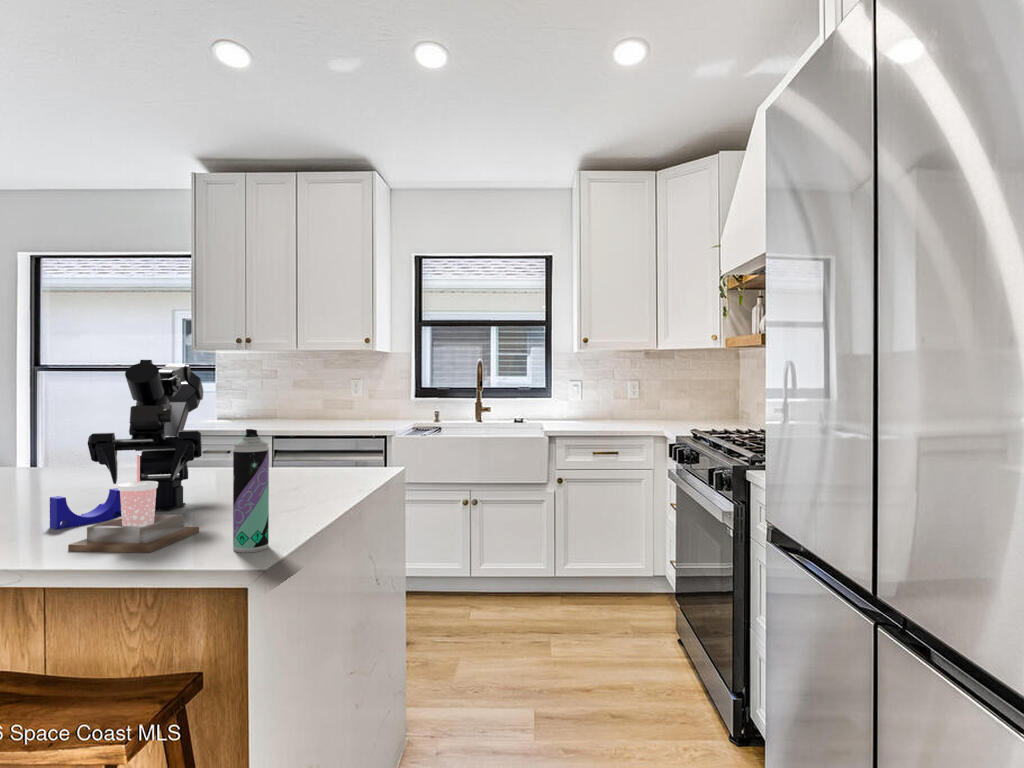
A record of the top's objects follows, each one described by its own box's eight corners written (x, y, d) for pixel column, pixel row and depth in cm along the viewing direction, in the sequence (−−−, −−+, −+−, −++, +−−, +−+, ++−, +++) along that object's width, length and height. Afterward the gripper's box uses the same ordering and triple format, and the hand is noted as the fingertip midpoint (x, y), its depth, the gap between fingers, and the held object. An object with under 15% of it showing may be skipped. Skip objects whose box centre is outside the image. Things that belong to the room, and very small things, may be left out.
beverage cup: (154, 537, 107) (154, 456, 107) (113, 540, 105) (113, 457, 104) (161, 529, 112) (161, 452, 112) (122, 532, 110) (122, 453, 110)
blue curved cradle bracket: (113, 516, 129) (113, 487, 129) (124, 518, 127) (124, 489, 127) (46, 527, 119) (46, 496, 119) (56, 530, 116) (56, 498, 116)
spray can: (225, 551, 102) (225, 429, 102) (248, 542, 107) (249, 427, 107) (253, 553, 100) (253, 430, 100) (275, 545, 106) (275, 428, 106)
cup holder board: (68, 550, 102) (68, 529, 102) (126, 530, 116) (126, 511, 116) (149, 552, 101) (149, 531, 101) (199, 531, 115) (199, 513, 115)
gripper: (89, 390, 116) (75, 456, 106) (201, 390, 123) (198, 451, 113) (98, 429, 123) (86, 494, 113) (202, 426, 131) (200, 487, 121)
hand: (143, 480), depth 115 cm, fingers open, 9 cm apart
